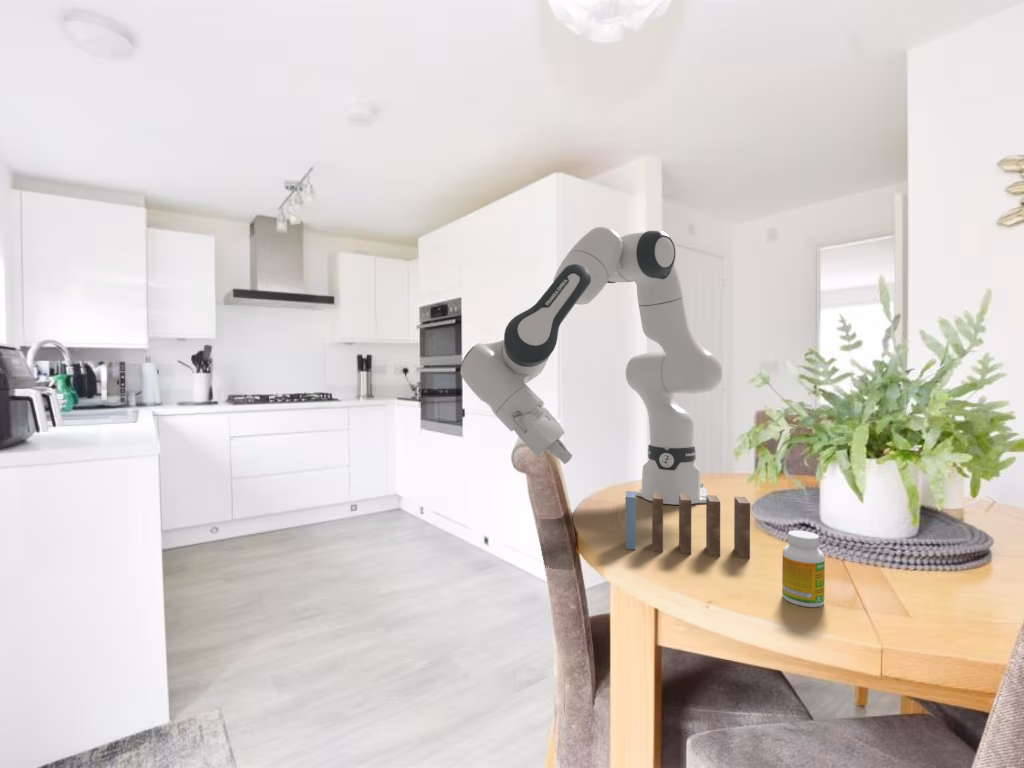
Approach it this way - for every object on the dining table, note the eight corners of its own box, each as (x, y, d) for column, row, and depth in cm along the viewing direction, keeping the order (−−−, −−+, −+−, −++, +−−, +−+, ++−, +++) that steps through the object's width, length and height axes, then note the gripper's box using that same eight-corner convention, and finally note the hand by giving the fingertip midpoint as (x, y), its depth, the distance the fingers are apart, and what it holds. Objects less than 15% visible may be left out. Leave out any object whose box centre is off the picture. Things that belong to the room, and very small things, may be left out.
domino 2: (652, 551, 97) (653, 498, 97) (652, 543, 102) (652, 492, 102) (662, 552, 97) (662, 498, 97) (661, 543, 102) (661, 493, 101)
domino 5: (739, 558, 94) (739, 502, 94) (734, 548, 99) (734, 496, 98) (749, 558, 93) (750, 503, 93) (744, 549, 98) (744, 496, 98)
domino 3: (680, 553, 96) (681, 499, 96) (678, 545, 101) (679, 493, 101) (691, 554, 96) (691, 500, 95) (688, 545, 100) (688, 494, 100)
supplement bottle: (821, 611, 72) (822, 542, 72) (779, 601, 76) (779, 535, 75) (826, 598, 77) (826, 533, 77) (785, 589, 80) (786, 526, 80)
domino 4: (709, 555, 95) (709, 501, 95) (706, 547, 100) (706, 495, 100) (720, 556, 94) (720, 501, 94) (716, 547, 99) (716, 495, 99)
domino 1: (625, 549, 99) (625, 496, 98) (626, 541, 103) (626, 491, 103) (635, 550, 98) (635, 497, 98) (635, 541, 103) (635, 491, 103)
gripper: (520, 402, 95) (573, 457, 93) (541, 397, 115) (585, 443, 112) (496, 426, 96) (549, 481, 94) (521, 417, 116) (565, 462, 114)
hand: (569, 460), depth 103 cm, fingers closed
